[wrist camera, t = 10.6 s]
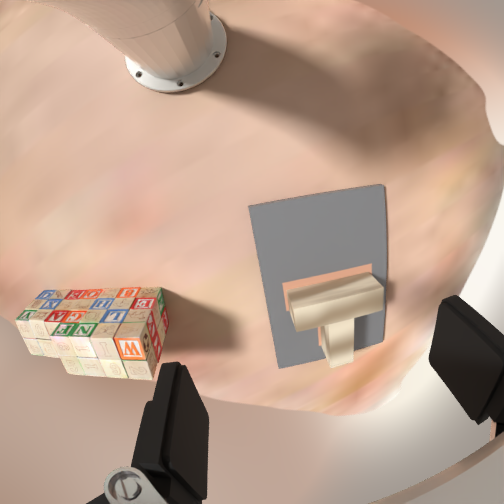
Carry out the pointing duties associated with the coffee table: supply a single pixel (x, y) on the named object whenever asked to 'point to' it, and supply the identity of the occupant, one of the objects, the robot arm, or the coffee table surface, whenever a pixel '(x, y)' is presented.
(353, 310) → the T block
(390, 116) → the coffee table surface
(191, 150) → the coffee table surface
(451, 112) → the coffee table surface
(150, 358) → the stack of blocks
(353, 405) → the coffee table surface
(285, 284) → the board
